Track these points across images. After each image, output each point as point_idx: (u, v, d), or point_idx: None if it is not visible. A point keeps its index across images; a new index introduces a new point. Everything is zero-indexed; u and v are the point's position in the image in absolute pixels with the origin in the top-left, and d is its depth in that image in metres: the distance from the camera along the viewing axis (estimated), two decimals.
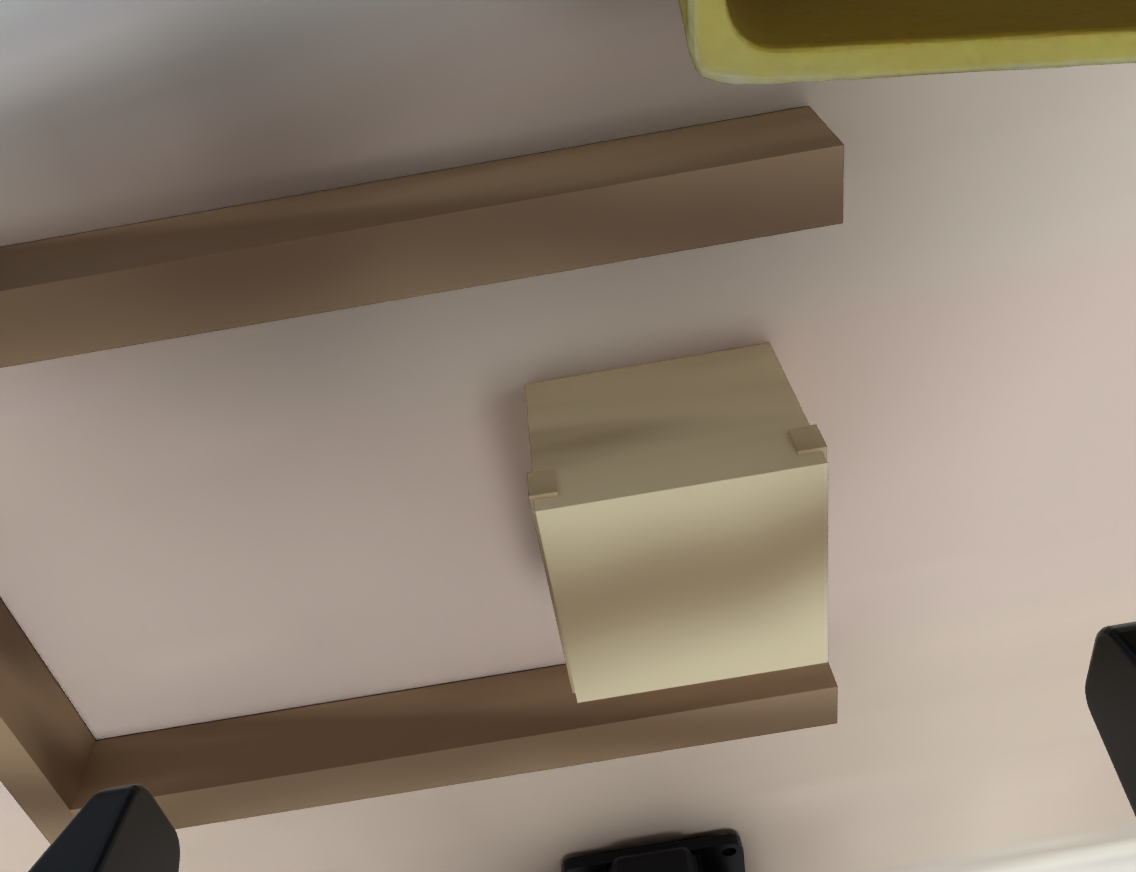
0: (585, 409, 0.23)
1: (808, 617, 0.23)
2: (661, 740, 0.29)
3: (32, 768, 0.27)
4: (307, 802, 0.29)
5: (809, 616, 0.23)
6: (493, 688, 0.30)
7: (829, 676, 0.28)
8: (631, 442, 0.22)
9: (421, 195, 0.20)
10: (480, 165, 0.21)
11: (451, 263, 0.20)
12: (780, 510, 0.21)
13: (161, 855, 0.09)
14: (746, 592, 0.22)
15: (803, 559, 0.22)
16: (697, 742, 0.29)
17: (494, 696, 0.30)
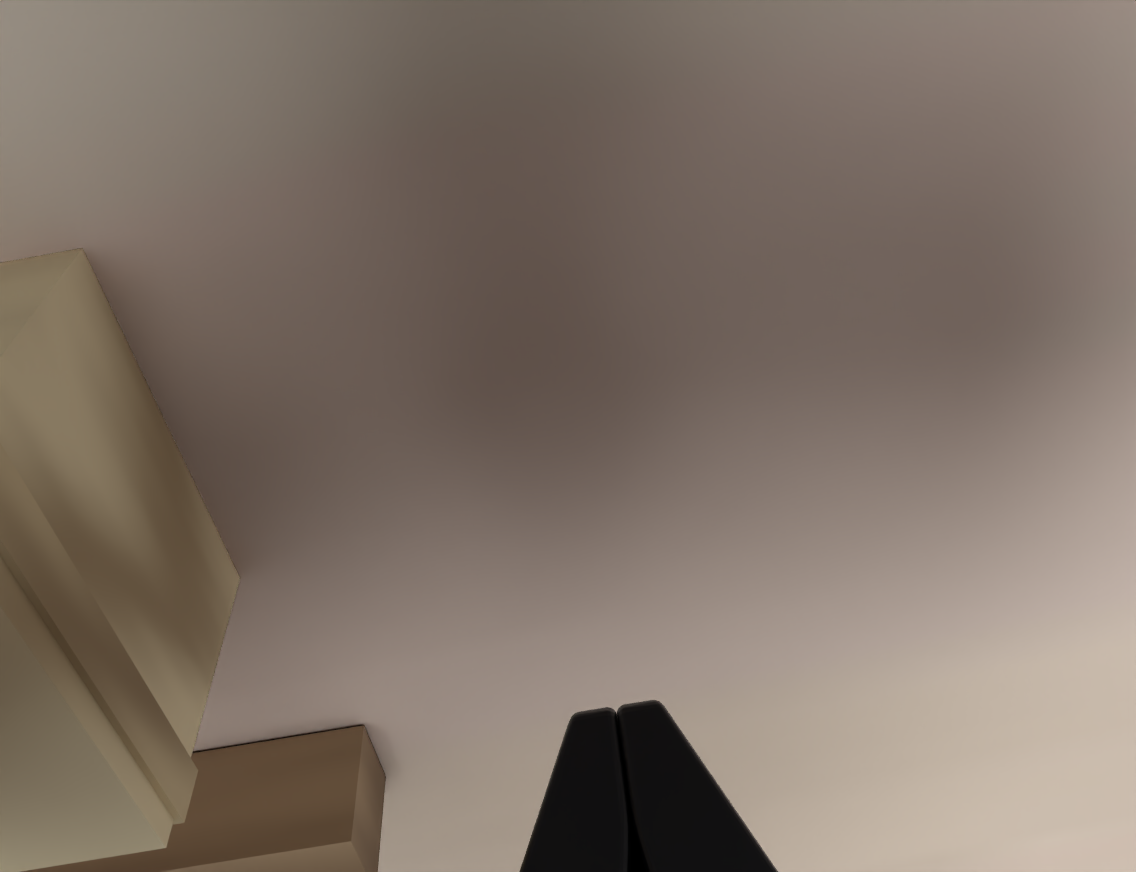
0: None
1: (75, 775, 0.12)
2: None
3: None
4: None
5: (76, 773, 0.12)
6: None
7: (346, 821, 0.17)
8: None
9: None
10: None
11: None
12: None
13: None
14: None
15: None
16: None
17: None
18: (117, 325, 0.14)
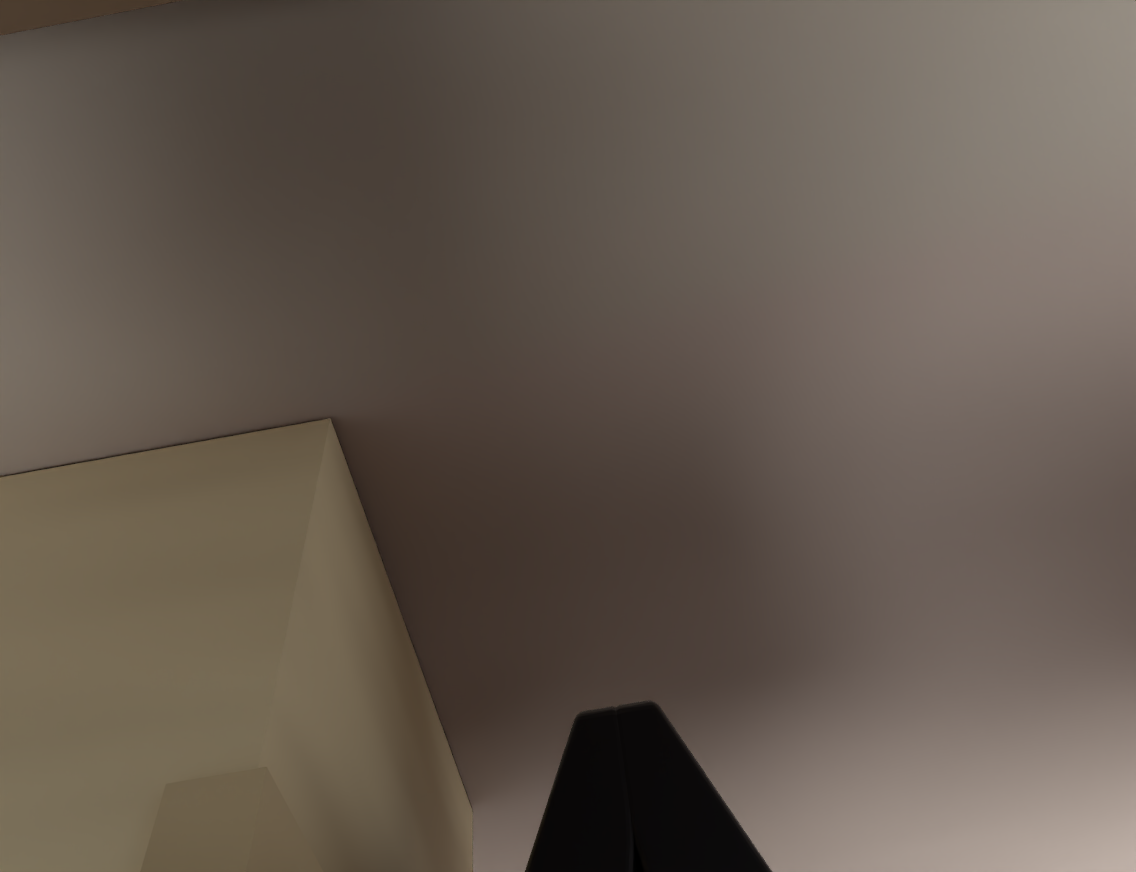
0: None
1: None
2: None
3: None
4: None
5: None
6: None
7: None
8: None
9: None
10: None
11: None
12: None
13: None
14: None
15: None
16: None
17: None
18: (363, 525, 0.09)
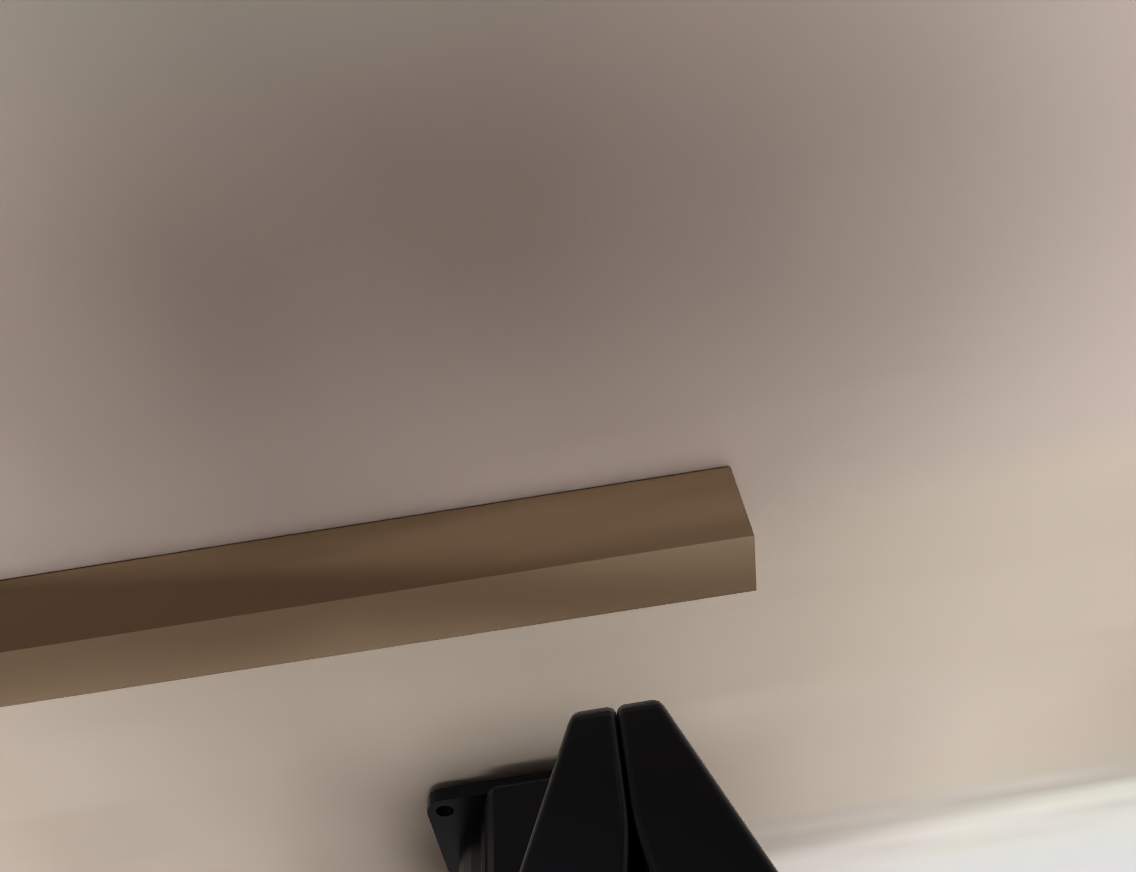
0: None
1: None
2: (521, 611, 0.22)
3: None
4: (53, 690, 0.22)
5: None
6: (307, 545, 0.23)
7: (744, 524, 0.21)
8: None
9: None
10: None
11: None
12: None
13: None
14: None
15: None
16: (571, 614, 0.22)
17: (307, 554, 0.22)
18: None
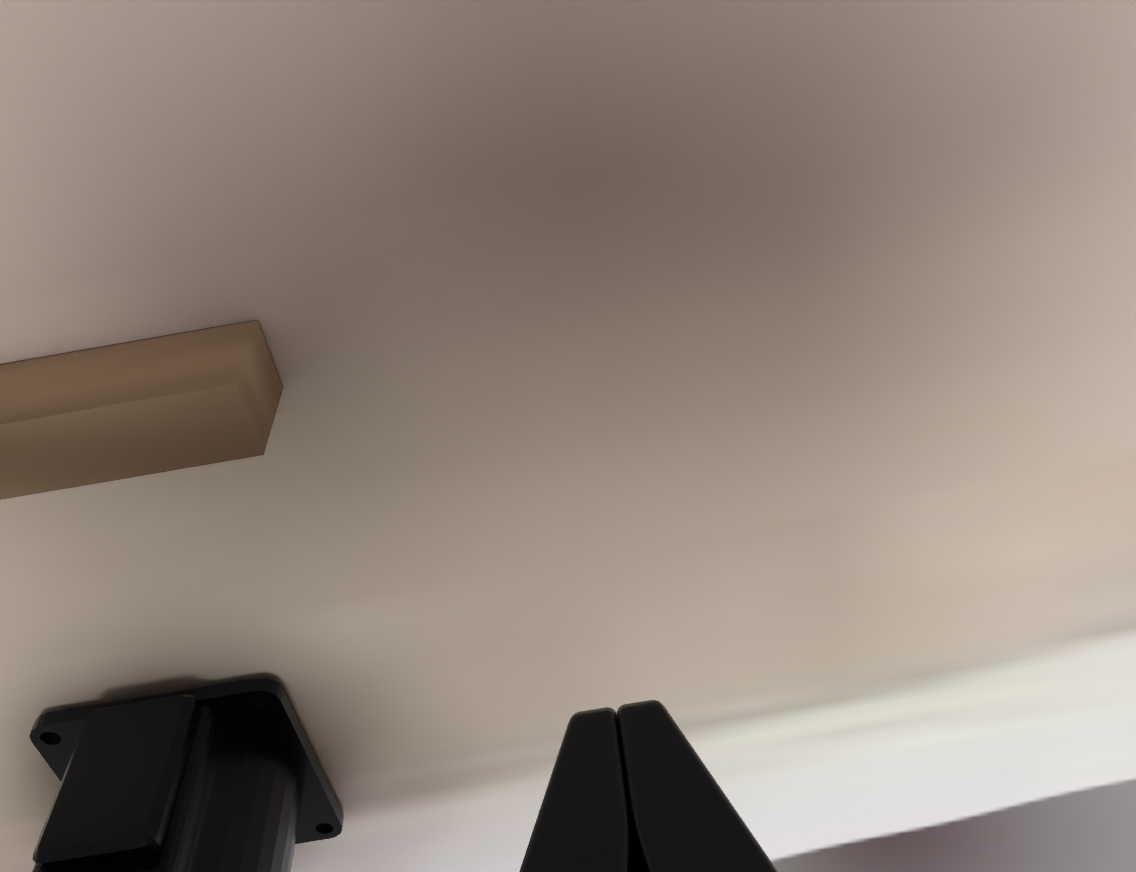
0: None
1: None
2: None
3: None
4: None
5: None
6: None
7: (232, 373, 0.18)
8: None
9: None
10: None
11: None
12: None
13: None
14: None
15: None
16: (50, 484, 0.19)
17: None
18: None
